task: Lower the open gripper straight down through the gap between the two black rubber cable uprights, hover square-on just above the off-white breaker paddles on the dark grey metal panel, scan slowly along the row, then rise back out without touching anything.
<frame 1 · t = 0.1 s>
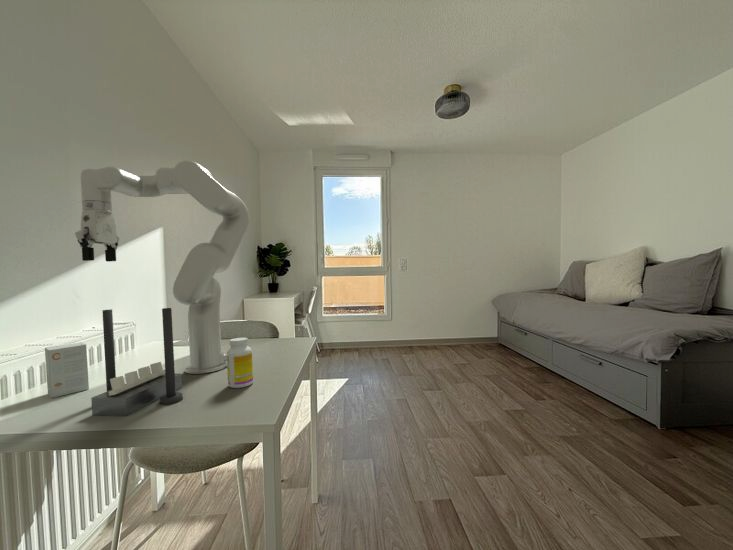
hand: (100, 260, 110), 37 cm above the table, tool pointing down, fingers open, 9 cm apart
cable upright 2: (171, 400, 84), on the table
supplement bottle: (241, 385, 94), on the table
small box: (68, 392, 94), on the table
cable upright 1: (112, 399, 87), on the table
breaker paddles: (138, 376, 85), point 6 cm above the table, hinge at 12.0°
breaker panel: (141, 400, 85), on the table
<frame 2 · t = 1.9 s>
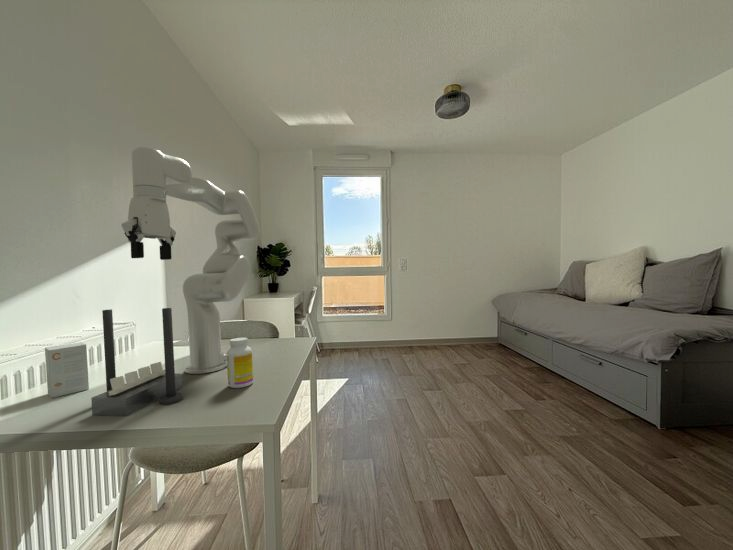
hand: (152, 258, 91), 36 cm above the table, tool pointing down, fingers open, 9 cm apart
nothing on the table moved.
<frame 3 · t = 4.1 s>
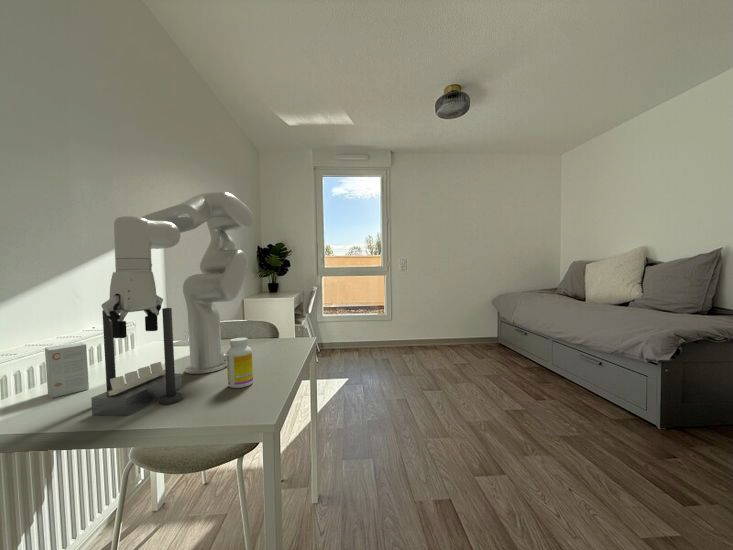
hand: (136, 334, 85), 17 cm above the table, tool pointing down, fingers open, 9 cm apart
nothing on the table moved.
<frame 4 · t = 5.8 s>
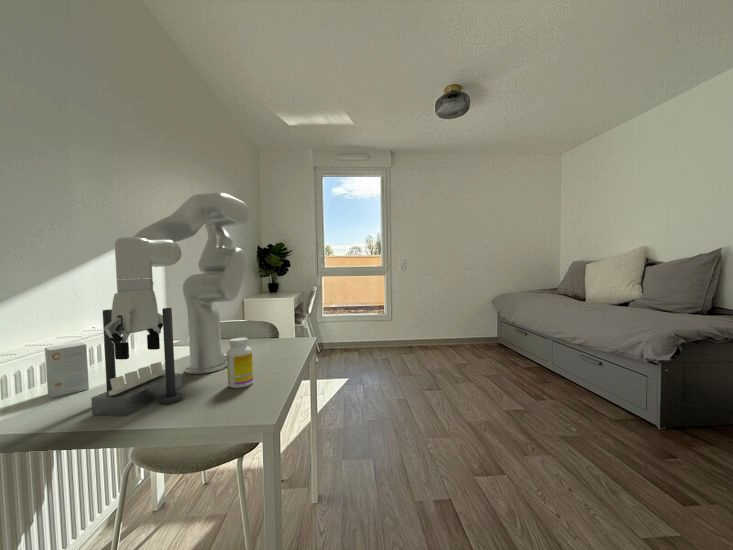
hand: (138, 353, 85), 12 cm above the table, tool pointing down, fingers open, 9 cm apart
nothing on the table moved.
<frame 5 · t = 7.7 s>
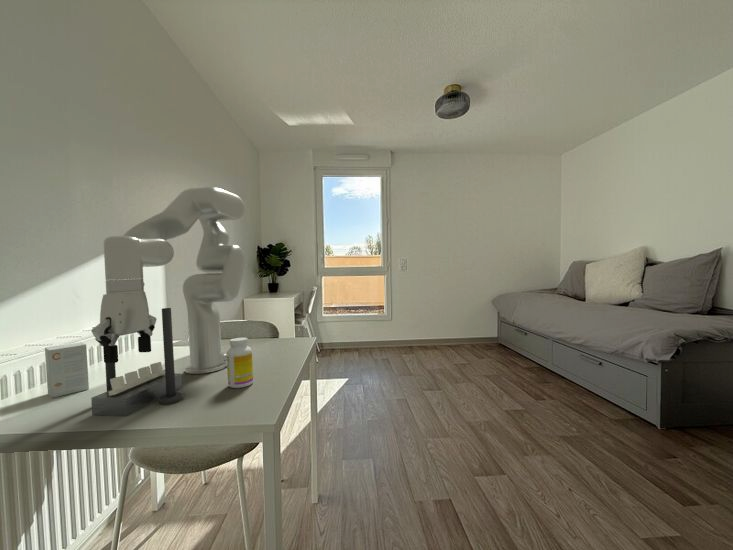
hand: (129, 357, 82), 12 cm above the table, tool pointing down, fingers open, 9 cm apart
nothing on the table moved.
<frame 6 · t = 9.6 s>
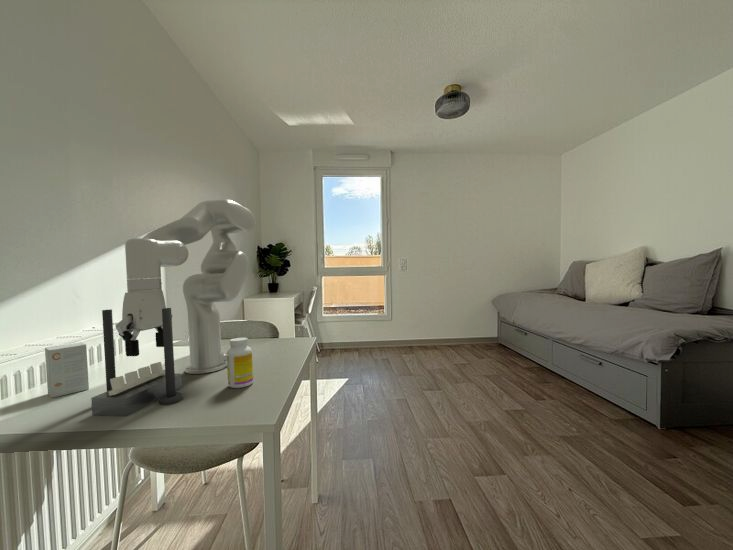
hand: (148, 351, 88), 12 cm above the table, tool pointing down, fingers open, 9 cm apart
nothing on the table moved.
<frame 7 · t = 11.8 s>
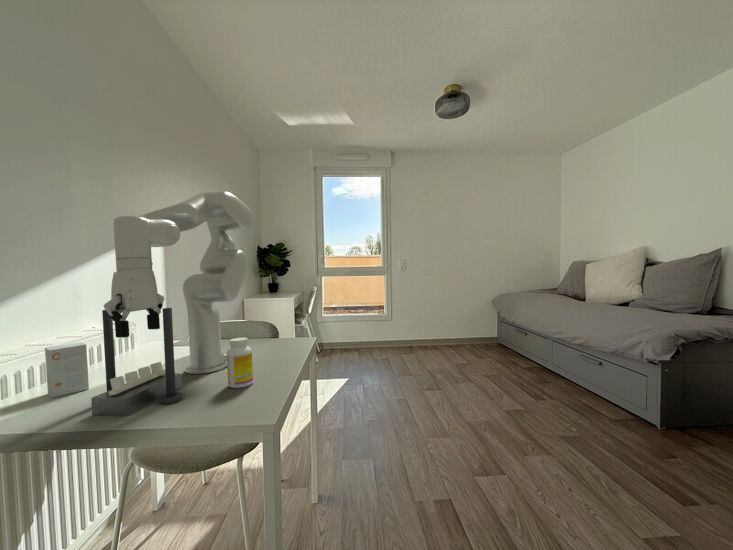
hand: (139, 332, 86), 17 cm above the table, tool pointing down, fingers open, 9 cm apart
nothing on the table moved.
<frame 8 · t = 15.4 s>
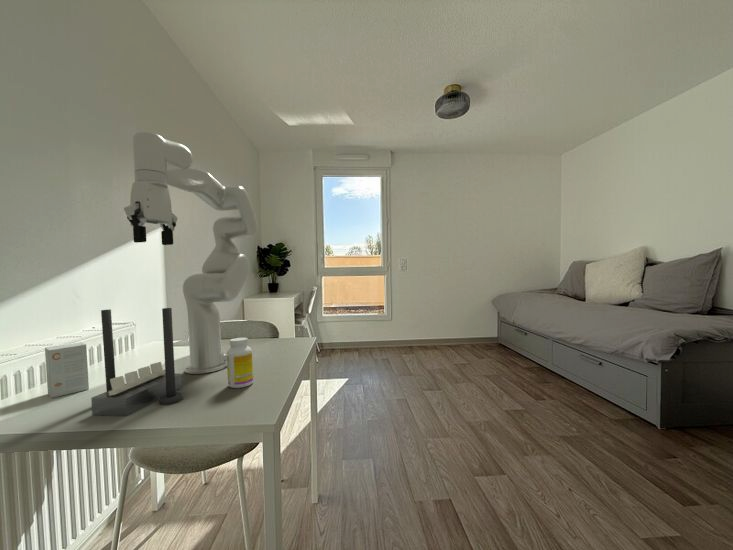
hand: (154, 243, 92), 40 cm above the table, tool pointing down, fingers open, 9 cm apart
nothing on the table moved.
at the end: cable upright 2 tilted 0°; cable upright 1 tilted 1°; breaker paddles at +12° (first picture: +12°) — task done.
